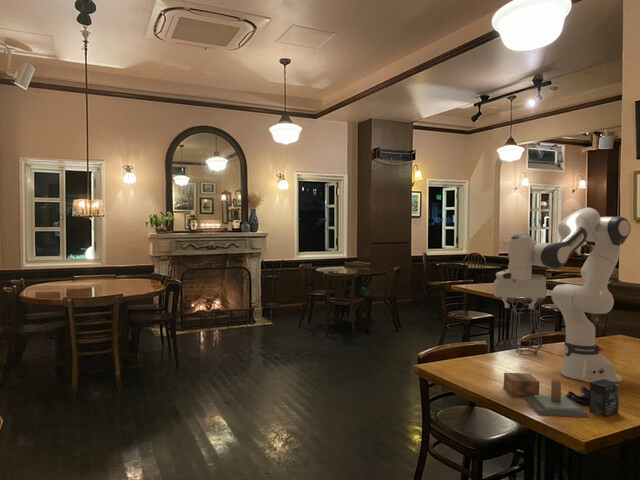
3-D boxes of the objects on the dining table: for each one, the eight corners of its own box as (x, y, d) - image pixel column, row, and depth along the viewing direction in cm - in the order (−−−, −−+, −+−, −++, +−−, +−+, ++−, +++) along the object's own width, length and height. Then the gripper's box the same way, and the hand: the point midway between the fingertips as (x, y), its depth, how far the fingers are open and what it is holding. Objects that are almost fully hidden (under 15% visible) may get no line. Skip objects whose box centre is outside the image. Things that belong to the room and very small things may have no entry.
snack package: (573, 394, 177) (559, 400, 170) (577, 379, 176) (563, 384, 169) (607, 409, 168) (594, 416, 161) (611, 393, 167) (598, 399, 160)
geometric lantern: (547, 358, 225) (547, 287, 224) (513, 357, 227) (513, 287, 226) (536, 349, 241) (535, 282, 239) (504, 348, 243) (504, 282, 241)
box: (604, 417, 155) (605, 386, 154) (588, 411, 160) (589, 381, 160) (619, 413, 158) (619, 383, 158) (602, 407, 163) (603, 378, 163)
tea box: (530, 388, 182) (530, 373, 182) (539, 397, 172) (539, 382, 172) (503, 387, 183) (503, 372, 183) (511, 396, 173) (511, 381, 173)
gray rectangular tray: (571, 402, 168) (571, 398, 168) (588, 417, 155) (588, 412, 155) (525, 400, 170) (525, 396, 170) (538, 415, 157) (538, 410, 157)
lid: (565, 398, 167) (565, 377, 167) (579, 411, 156) (579, 387, 156) (533, 397, 168) (534, 376, 168) (545, 409, 157) (545, 386, 157)
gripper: (543, 273, 188) (542, 307, 189) (492, 273, 190) (491, 306, 191) (549, 275, 182) (548, 310, 182) (496, 274, 184) (495, 309, 185)
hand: (519, 308), depth 187 cm, fingers open, 8 cm apart
